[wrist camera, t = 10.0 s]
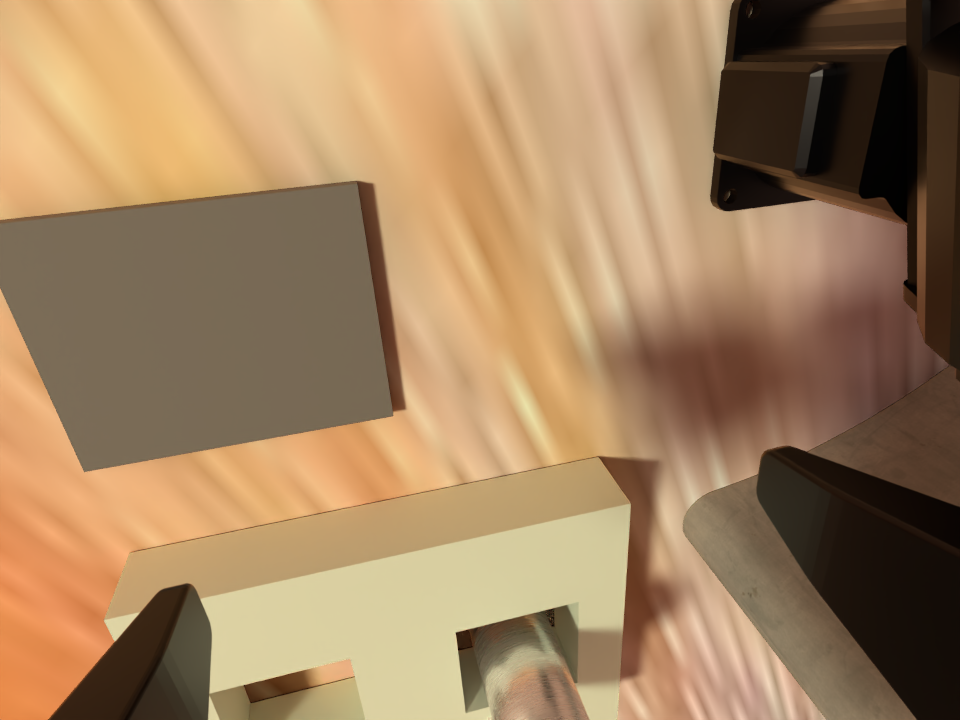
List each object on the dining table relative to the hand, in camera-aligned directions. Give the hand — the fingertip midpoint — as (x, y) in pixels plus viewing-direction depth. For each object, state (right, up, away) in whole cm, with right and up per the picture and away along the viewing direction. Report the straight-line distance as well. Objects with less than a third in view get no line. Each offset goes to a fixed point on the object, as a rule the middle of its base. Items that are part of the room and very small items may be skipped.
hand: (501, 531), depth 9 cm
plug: (+1, -8, +18) cm, 20 cm away
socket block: (-4, -9, +17) cm, 20 cm away
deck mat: (-9, +4, +10) cm, 13 cm away
